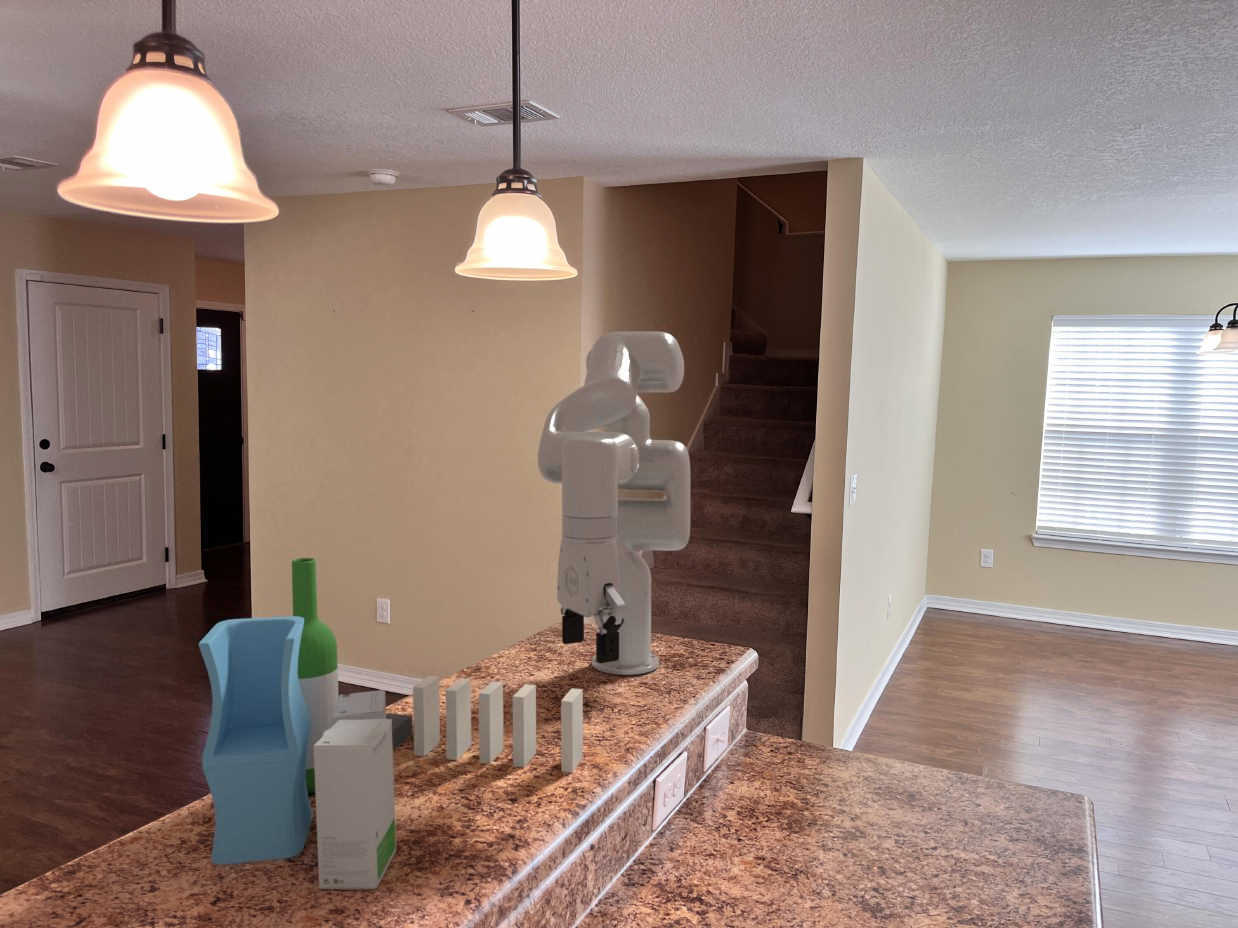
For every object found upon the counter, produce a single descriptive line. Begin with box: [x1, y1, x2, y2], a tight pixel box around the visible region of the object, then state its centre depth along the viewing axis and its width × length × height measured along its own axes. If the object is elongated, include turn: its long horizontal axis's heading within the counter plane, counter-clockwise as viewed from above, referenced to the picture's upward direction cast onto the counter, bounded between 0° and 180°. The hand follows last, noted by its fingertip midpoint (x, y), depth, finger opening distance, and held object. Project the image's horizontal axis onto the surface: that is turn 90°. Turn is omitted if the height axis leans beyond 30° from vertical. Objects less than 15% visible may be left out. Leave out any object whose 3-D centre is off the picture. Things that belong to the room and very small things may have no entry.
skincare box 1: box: [333, 689, 387, 725], centre depth 106 cm, size 8×6×15 cm
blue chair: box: [198, 615, 314, 866], centre depth 101 cm, size 10×10×25 cm
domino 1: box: [412, 675, 441, 757], centre depth 127 cm, size 2×5×10 cm, turn 166°
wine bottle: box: [291, 557, 339, 794], centre depth 115 cm, size 8×8×30 cm
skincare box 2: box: [314, 719, 397, 890], centre depth 95 cm, size 8×7×16 cm
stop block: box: [386, 712, 414, 752], centre depth 128 cm, size 8×4×3 cm, turn 166°
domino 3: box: [478, 680, 504, 765], centre depth 124 cm, size 2×5×10 cm, turn 166°
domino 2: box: [445, 678, 472, 761], centre depth 125 cm, size 2×5×10 cm, turn 166°
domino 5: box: [560, 687, 584, 774], centre depth 121 cm, size 2×5×10 cm, turn 166°
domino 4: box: [512, 683, 537, 769], centre depth 123 cm, size 2×5×10 cm, turn 166°
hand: (589, 651), depth 120 cm, fingers open, 9 cm apart
